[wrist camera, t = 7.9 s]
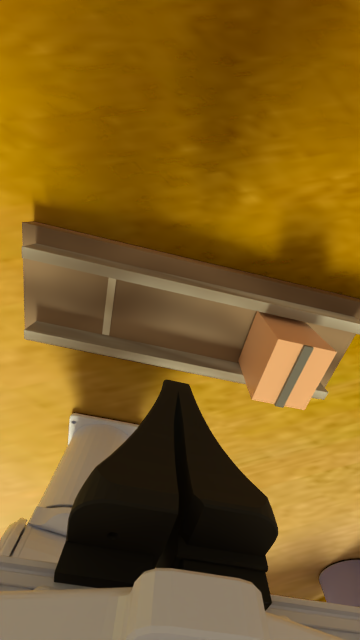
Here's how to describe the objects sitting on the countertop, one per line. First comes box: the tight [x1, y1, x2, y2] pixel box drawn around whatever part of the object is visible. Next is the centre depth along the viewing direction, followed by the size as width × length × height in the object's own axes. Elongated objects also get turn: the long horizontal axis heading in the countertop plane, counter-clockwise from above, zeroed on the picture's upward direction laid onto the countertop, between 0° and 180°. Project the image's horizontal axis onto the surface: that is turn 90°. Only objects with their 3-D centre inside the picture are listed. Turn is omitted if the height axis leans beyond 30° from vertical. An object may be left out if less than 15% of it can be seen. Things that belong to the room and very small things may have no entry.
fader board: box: [22, 221, 360, 400], centre depth 21 cm, size 10×28×3 cm, turn 77°
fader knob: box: [238, 311, 337, 410], centre depth 19 cm, size 5×4×5 cm
